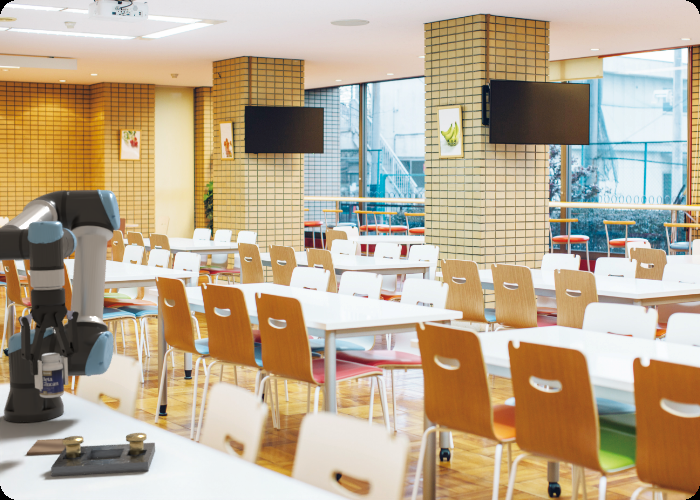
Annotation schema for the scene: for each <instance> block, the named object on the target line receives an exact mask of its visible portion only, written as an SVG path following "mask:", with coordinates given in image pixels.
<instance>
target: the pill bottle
mask: <svg viewBox="0 0 700 500" xmlns="http://www.w3.org/2000/svg"><path fill="white" fill-rule="evenodd" d="M59 360H60V354H59V353H47V354H43V355H42V361H43V363H42V379H43V389H40V396H41V397H44V398H54V397H59V396H60V397H62V396H63V395H64V394H65V385H64V377H63V364H62V363H60V362H59Z"/></svg>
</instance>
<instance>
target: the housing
mask: <svg viewBox="0 0 700 500" xmlns="http://www.w3.org/2000/svg"><path fill="white" fill-rule="evenodd" d="M143 444H144V452H143V453H142V454H137V455H132V454H130V444H129V443H125V444H124V443H122V444H121V443H120V444H108V445H106V444H105V445H104V444H103V445H82V446H81V445H80V449H81V456H79V457H76V458H67V457H66V447H65V448H64V450H63V451H62V453H61V454H59V456H58V457H57V459H56V460H55V461H54V463H53V464H52V466H51V467H50V468H51V472H50V473H51V477H65V476H66V477H67V476H69V477H70V476H87V475H101V474H102V475H103V474H119V473H122V474H123V473H135V472H136V473H137V472H138V473H139V472H140V473H141V472H148V471H149V469H150V467H151V464H152V462H153V459H154V456H155V453H156V443H155V442H143Z"/></svg>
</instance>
